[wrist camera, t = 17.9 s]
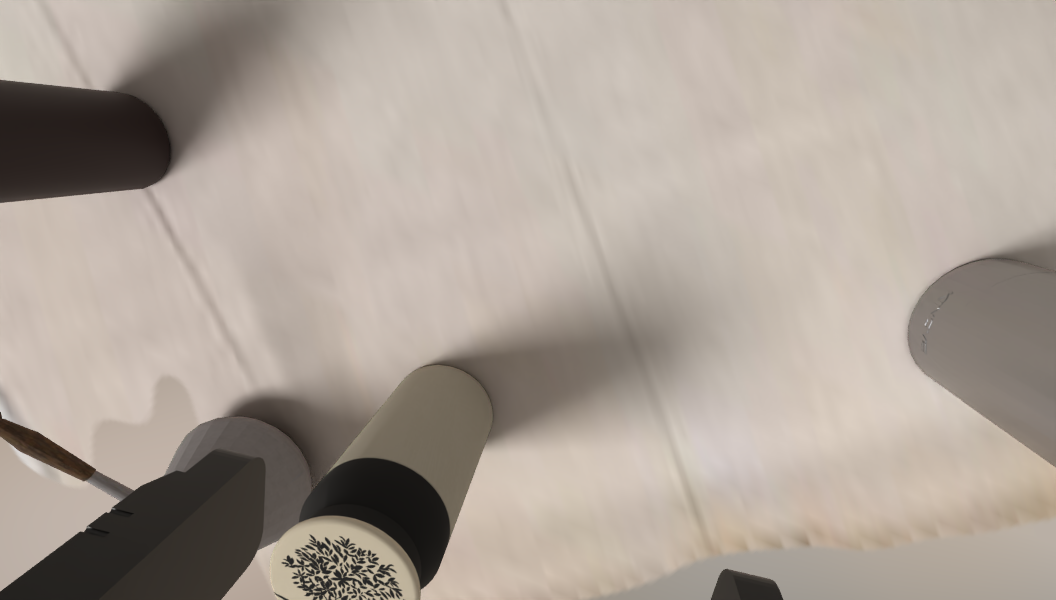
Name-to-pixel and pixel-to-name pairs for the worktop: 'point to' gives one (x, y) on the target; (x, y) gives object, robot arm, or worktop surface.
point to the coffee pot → (239, 434)
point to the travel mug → (389, 496)
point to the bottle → (76, 142)
